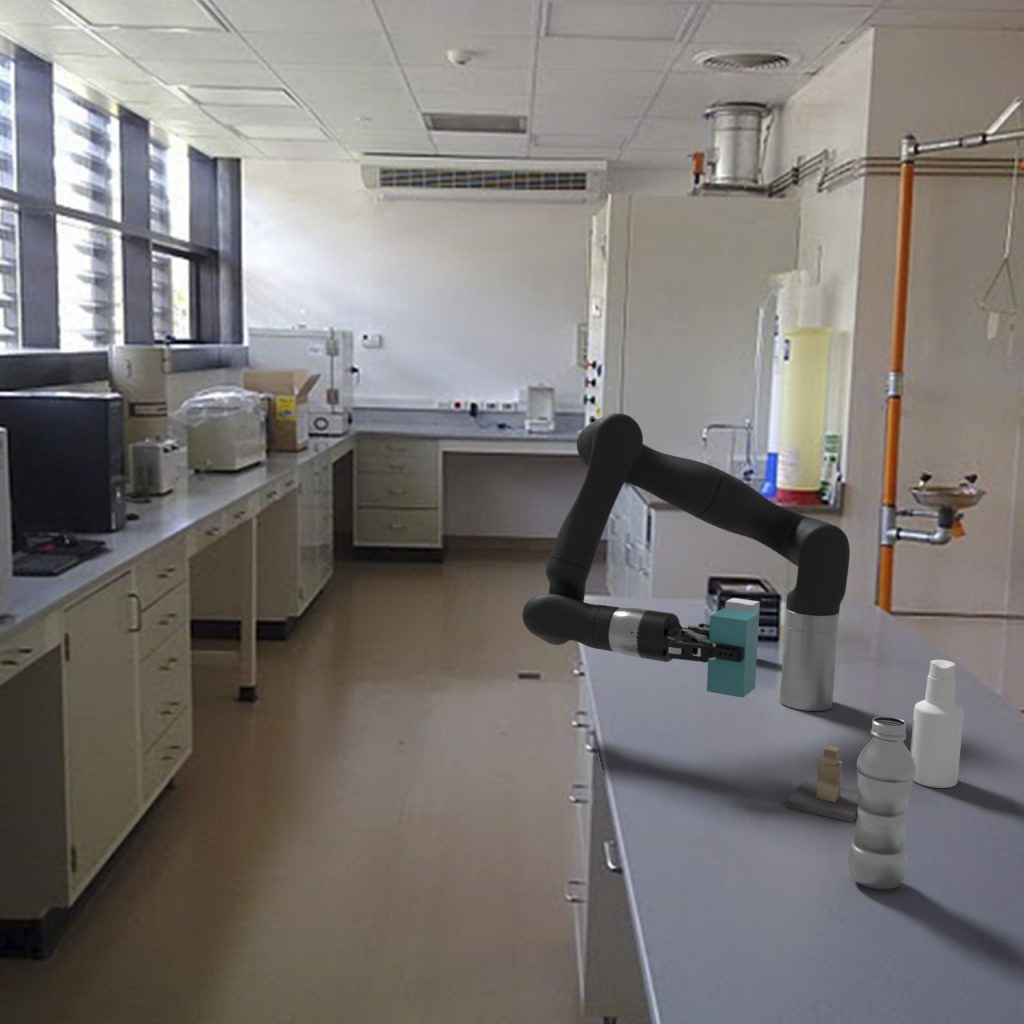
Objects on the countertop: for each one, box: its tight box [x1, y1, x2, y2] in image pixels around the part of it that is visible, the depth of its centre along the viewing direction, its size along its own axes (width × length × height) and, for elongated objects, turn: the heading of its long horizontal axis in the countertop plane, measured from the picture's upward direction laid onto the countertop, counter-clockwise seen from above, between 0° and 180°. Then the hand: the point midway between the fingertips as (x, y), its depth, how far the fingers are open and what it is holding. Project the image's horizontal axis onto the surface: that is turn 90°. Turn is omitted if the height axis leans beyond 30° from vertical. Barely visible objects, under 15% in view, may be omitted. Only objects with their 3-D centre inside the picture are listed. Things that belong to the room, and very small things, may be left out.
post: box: [786, 745, 859, 823], centre depth 156 cm, size 9×9×8 cm
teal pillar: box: [706, 607, 760, 699], centre depth 167 cm, size 6×6×12 cm
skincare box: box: [725, 597, 761, 647], centre depth 230 cm, size 6×4×12 cm
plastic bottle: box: [847, 716, 916, 890], centre depth 131 cm, size 6×7×20 cm
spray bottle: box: [909, 659, 964, 789], centre depth 165 cm, size 7×7×18 cm
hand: (749, 650), depth 166 cm, fingers closed on teal pillar, 5 cm apart
